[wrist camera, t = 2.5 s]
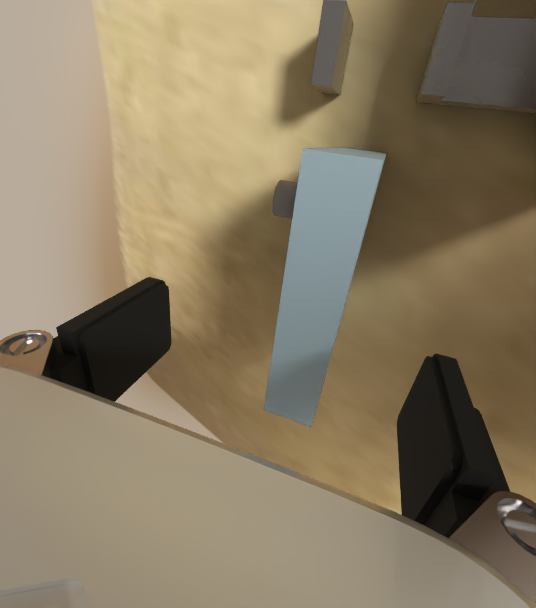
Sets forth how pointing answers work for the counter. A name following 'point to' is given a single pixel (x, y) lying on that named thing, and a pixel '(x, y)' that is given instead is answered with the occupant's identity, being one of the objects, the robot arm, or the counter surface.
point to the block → (317, 269)
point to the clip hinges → (449, 58)
